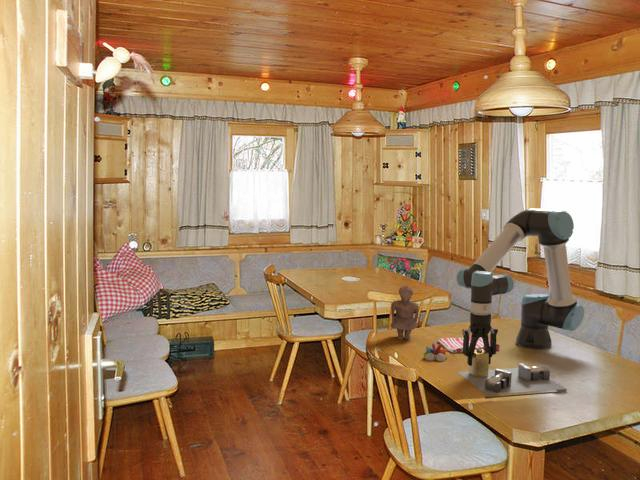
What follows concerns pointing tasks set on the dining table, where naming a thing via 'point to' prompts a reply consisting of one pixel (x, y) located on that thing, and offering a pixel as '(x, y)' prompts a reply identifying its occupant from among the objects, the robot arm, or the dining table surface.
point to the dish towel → (461, 344)
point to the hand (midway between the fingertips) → (478, 372)
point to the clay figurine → (404, 313)
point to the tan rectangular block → (481, 363)
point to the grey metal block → (533, 373)
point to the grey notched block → (498, 381)
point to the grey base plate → (514, 384)
